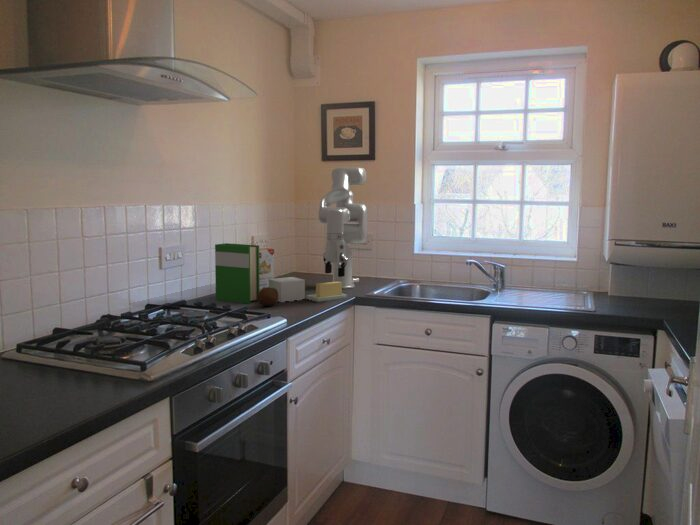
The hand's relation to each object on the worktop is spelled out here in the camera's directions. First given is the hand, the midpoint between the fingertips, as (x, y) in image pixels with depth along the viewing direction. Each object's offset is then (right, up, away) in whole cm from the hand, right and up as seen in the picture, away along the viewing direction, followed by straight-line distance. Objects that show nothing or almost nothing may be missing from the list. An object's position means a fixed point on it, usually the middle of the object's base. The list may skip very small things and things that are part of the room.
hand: (334, 274), depth 254 cm
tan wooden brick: (-3, -10, -2) cm, 10 cm away
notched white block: (-21, -11, -4) cm, 24 cm away
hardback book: (-42, -11, -8) cm, 44 cm away
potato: (-27, -13, -21) cm, 36 cm away
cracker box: (-35, -9, +7) cm, 37 cm away
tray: (-3, -11, -2) cm, 11 cm away
